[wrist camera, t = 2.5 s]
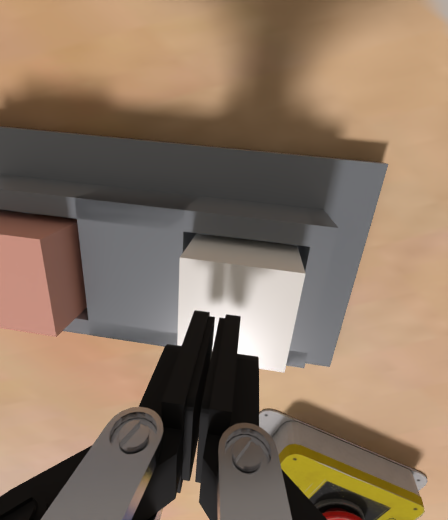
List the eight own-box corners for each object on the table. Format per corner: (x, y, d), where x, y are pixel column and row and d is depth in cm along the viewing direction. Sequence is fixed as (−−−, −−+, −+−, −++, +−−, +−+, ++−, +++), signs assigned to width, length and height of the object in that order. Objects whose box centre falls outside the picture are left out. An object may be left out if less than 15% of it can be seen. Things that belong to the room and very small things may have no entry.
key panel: (380, 162, 16) (422, 171, 11) (326, 356, 21) (342, 411, 17) (-36, 122, 18) (-128, 118, 14) (8, 308, 23) (-48, 346, 19)
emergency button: (380, 589, 24) (211, 520, 23) (364, 524, 28) (219, 464, 27) (461, 536, 20) (263, 453, 20) (429, 470, 24) (264, 399, 24)
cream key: (297, 245, 14) (305, 273, 11) (280, 330, 16) (284, 372, 13) (196, 233, 15) (179, 257, 12) (192, 317, 17) (176, 355, 14)
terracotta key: (82, 219, 15) (39, 239, 12) (91, 302, 17) (56, 336, 14) (-7, 209, 16) (-69, 225, 13) (12, 291, 18) (-39, 321, 15)
